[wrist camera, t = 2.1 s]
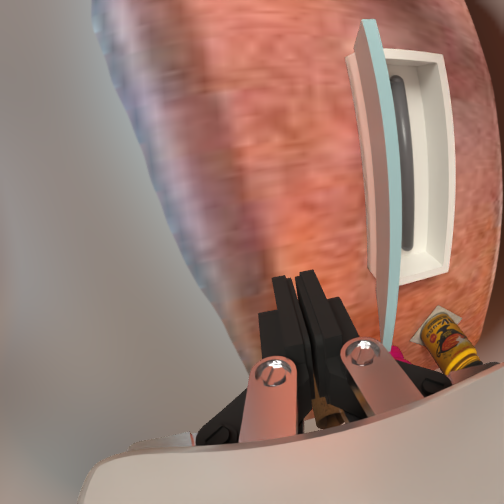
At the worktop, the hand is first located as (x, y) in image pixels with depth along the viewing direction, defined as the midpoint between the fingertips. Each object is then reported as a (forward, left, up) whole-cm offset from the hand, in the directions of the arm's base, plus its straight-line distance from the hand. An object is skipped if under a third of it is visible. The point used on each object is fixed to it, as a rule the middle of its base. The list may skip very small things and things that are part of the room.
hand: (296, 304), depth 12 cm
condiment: (+27, +24, -20) cm, 41 cm away
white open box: (0, +15, -19) cm, 25 cm away
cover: (0, +9, -10) cm, 14 cm away
